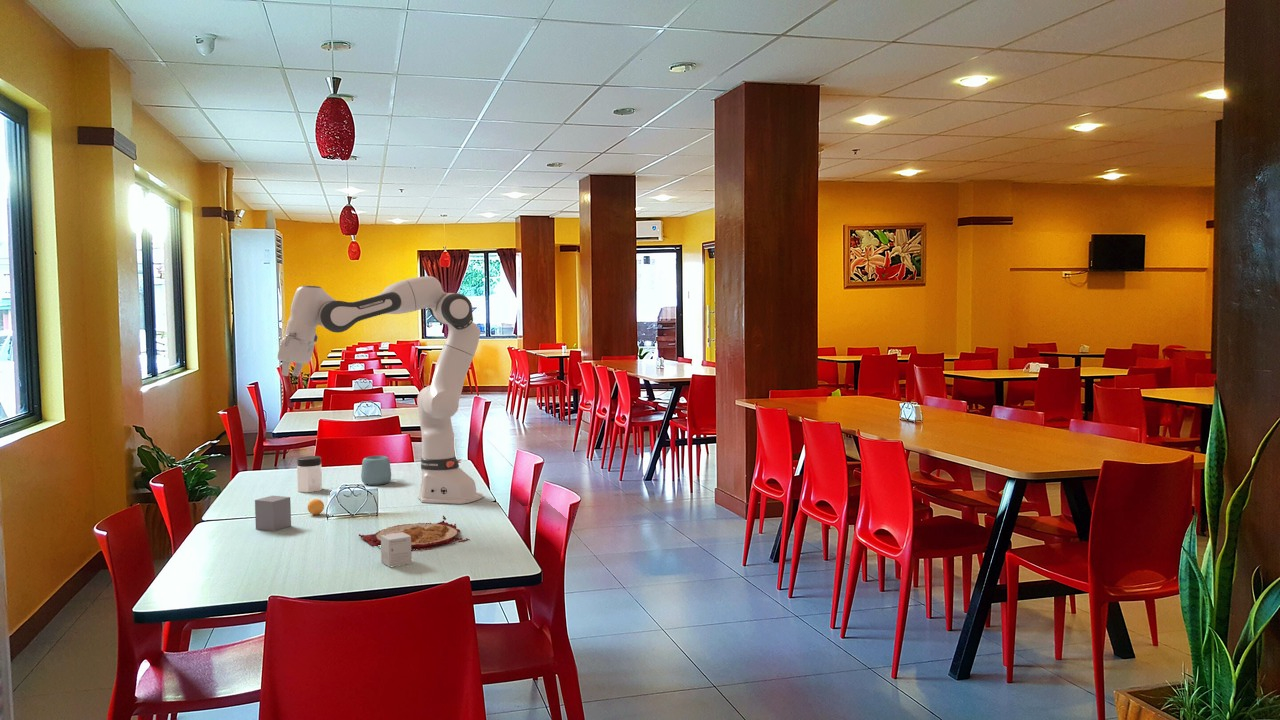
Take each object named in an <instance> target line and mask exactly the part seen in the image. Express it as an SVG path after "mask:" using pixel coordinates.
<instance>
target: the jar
mask: <svg viewBox="0 0 1280 720" xmlns="http://www.w3.org/2000/svg"><path fill="white" fill-rule="evenodd" d="M296 460H297V461H296V463H297V466H296V475H297V492H298V493H308V492H309V493H315V492H320V491H321V490H322V489H323V483H322V482H323V479H322V478H323V477H322V475H323V473H322V457H321V456H320V455H308V456H307V455H306V456H305V455H304V456H300V457H297V459H296ZM314 491H315V492H314Z"/></svg>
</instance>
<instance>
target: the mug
mask: <svg viewBox="0 0 1280 720" xmlns="http://www.w3.org/2000/svg"><path fill="white" fill-rule="evenodd" d="M361 463H362V464H361V473H360V475H361V476H360V478H361V482H362V483H363V484H365V485H367V484H368V486H380V485H385V484H388V483H389V482H390V481H391V480H392V469H391V461H390V457H388V456H385V455H371V456H366V457H364V458H363V459H362V462H361Z"/></svg>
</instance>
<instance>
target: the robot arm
mask: <svg viewBox="0 0 1280 720" xmlns="http://www.w3.org/2000/svg"><path fill="white" fill-rule="evenodd" d="M423 309H427V310H428V311H429V312H430V314H431V316H432V317H433V319H434V320H435V321H436V322H438V323H440V324H443V325H447V327H448V334H447V337H446V339H445V342H444V344H443V347H442V349H441V351H440V353H439V356H438V358H437V360H436V363H435V365H434V372H433V376H432V381H431V383H430V385H427V386H425V387H424V388H422V389H421V390H420V391H419V393H418V394H417V399H416V401H417V410H418V419H419V425H420V432H421V458H420V469H421V481H420V482H421V483H420V489H419V492H418V493H419V494H418V496H417V499H418V500H420V502H421V503H431V504H432V503H433V504H456V505H458V504H459V505H461V504H468V503H472V502H473V503H474V502H476V501H478V500H481V499H482V498H483V497H484V493H480V492H478V491H477V487H476V482H475V479H473V478H472V477H471V476H470V475H468V473H466V472H465V471H464V470H463V469H462V468H460V463H462V459H461V458H460V459H457V457H456V456H455V432H454V430H453V424H452V417H453V416H454V415H456V413H457V412H458V409H459V407H460V406H459V403H460V399H461V395H462V391H463V388H464V384H465V379H466V376H467V374H468V371H469V369H470V366H471V365H472V364H471V363H472V361H473V359H474V356H475V354H476V351H477V349H478V346H479V345H478V344H479V341H480V338H481V337H480V336H481V328H480V327H479V326H478V325H477V324H476V323H475V322H473V321H474V317H473V316H474V315H473V305H472V303H471V301H470V299H469V298H468V297H467V296H466V295H464V294H462V293H459V292H458V293H457V292H456V293H455V292H445V291H444V290H443V286H442V284H441V282H440V281H439V279H438V278H436V277H434V276H431V275H428V276H426V275H425V276H418V277H411V278H408V279H403V280H400V281H397V282H394V283H392V284H390V285H388V286H386V287H385V288H384V289H383V290H382V292H380V293H378V294H377V295H374V296H371V297H367V298H364V299H360V300H357V301H349V302H348V301H344V300H336V298H333V297H332V296H331V295H330V294H328V293H327V292H326V291H325V290H324V289H323V288H322V287H320V286H317V285H301V286H299V287H298V288H296V290H295V293H294V295H293V298H292V302H291V306H290V315H289V318H288V319H287V322H286V328H285V331H284V337H283V339H282V340H281V342H280V345H279V349H278V352H277V360H278V361H280V362H281V361H282V363H281V368H282V369H281V376H284V377H288V376H290V375H289V374H290V366H291V363H295V364H294V365H295V366H294V369H293V371H292V374H291V375H292V376H294V377H299V376H300V374H301V371H302V369H303V367H304V364H309V363H310V361H311V360H312V357H313V352H314V350H315V343H317V342H318V339H319V338H318V335H317V333H316V329H317V326H321V327H323V328H324V329H326V330H328V331H329V332H332V333H343V332H345V331H348V330H349V329H350V328H351V327H353V326H354V325H355V324H357V323H359V322H360V321H364V320H367V319H370V318H373V317H378V316H381V315H401V314H408V313H412V312H416V311H420V310H423Z"/></svg>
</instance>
